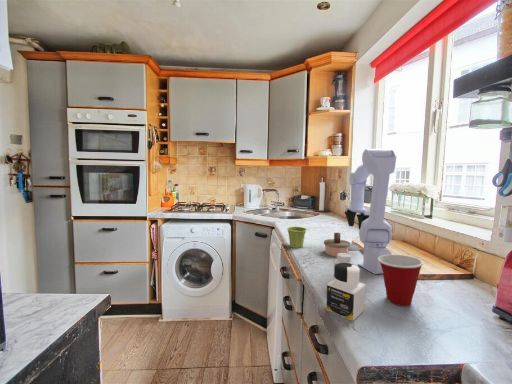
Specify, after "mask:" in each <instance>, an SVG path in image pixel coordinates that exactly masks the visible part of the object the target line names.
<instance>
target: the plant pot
mask: <svg viewBox="0 0 512 384" xmlns="http://www.w3.org/2000/svg"><path fill="white" fill-rule="evenodd" d="M286 230H287V233H288V241H289V247H291V248H294V249H297V248H298V249H301V248H303V247H304V240H305V235H306V232H307V228H305V227H302V226H288V227H287V228H286Z"/></svg>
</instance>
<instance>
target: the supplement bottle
mask: <svg viewBox="0 0 512 384" xmlns="http://www.w3.org/2000/svg"><path fill="white" fill-rule="evenodd" d="M338 263H350V264H353V265H354V262H353V261H352V255H351V254H350V253H348V254H347V253H338V254H337V257H336V259H334V265H333V267H334V266H335V265H336V264H338Z"/></svg>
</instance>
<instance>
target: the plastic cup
mask: <svg viewBox="0 0 512 384" xmlns="http://www.w3.org/2000/svg"><path fill="white" fill-rule="evenodd" d="M378 261H379V262H380V264H381V267H382V270H383V273H382V276H383V283H384V288H385V294H386V298H387V300H388V302H390V303H391V304H393V305H397V306H401V307H408V306H410V305H411V304H412V302H413V297H414V294H415V293H416V292H415V291H416V287H417V282H418V278H419V275H420V272H421V268H422V266H423V265H424V261H423V260H422V259H420V258H418V257H414V256H410V255H404V254H392V255H383V256H380V257H378Z"/></svg>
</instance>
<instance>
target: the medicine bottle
mask: <svg viewBox="0 0 512 384" xmlns="http://www.w3.org/2000/svg"><path fill="white" fill-rule="evenodd" d="M333 269H334V270H333V271H334V272H333V273H334V274H333V279H332V280H331V281H330V282H328V283H327V284H326V310H327V311H328V312H331V313H333V314H335V315H338V316H339V315H340V317H342V318H344V317H345V319H346V318H347V319H346V320H349V321H351V322H353V321H354V320H356V319H357V318H358V317H359V316H360V315H361V314H363V312H364V311H365V306H366V284H365V283H363V282H360V272H361V271H360V268H359V267H358V266H357V265H356V264H354V263H353V264H350V263H338V264H336V265H335V266H334V265H333Z"/></svg>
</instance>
